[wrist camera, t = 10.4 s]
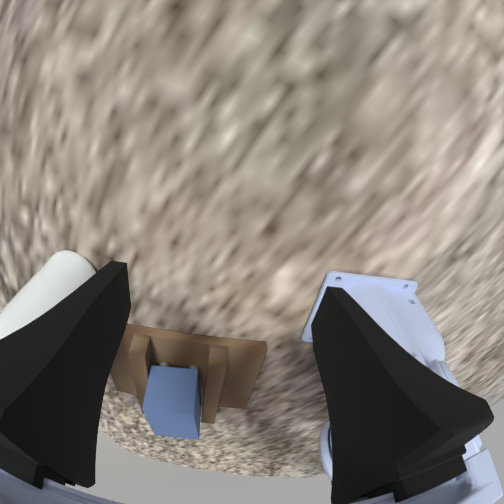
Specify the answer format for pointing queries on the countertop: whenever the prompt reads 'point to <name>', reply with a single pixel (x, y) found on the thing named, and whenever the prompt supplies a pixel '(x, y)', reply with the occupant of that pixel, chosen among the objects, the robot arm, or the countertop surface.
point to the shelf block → (173, 402)
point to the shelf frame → (190, 364)
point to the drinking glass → (45, 290)
